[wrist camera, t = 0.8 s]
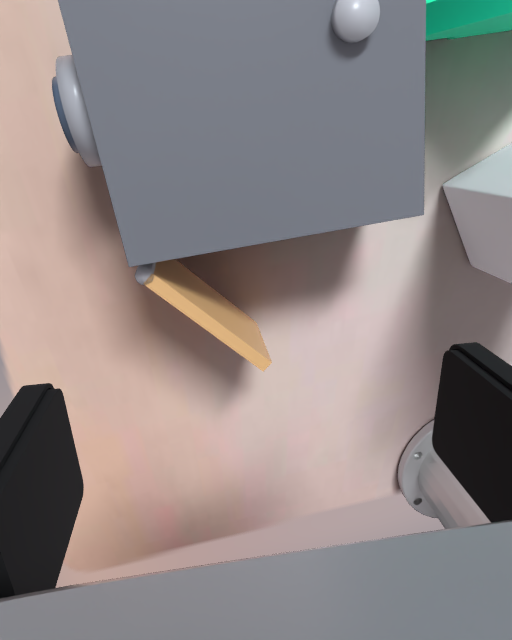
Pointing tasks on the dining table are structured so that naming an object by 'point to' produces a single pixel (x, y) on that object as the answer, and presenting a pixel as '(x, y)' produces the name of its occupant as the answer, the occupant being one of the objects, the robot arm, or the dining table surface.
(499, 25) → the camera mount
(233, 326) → the tan cabinet door
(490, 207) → the milk carton
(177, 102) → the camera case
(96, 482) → the dining table surface
